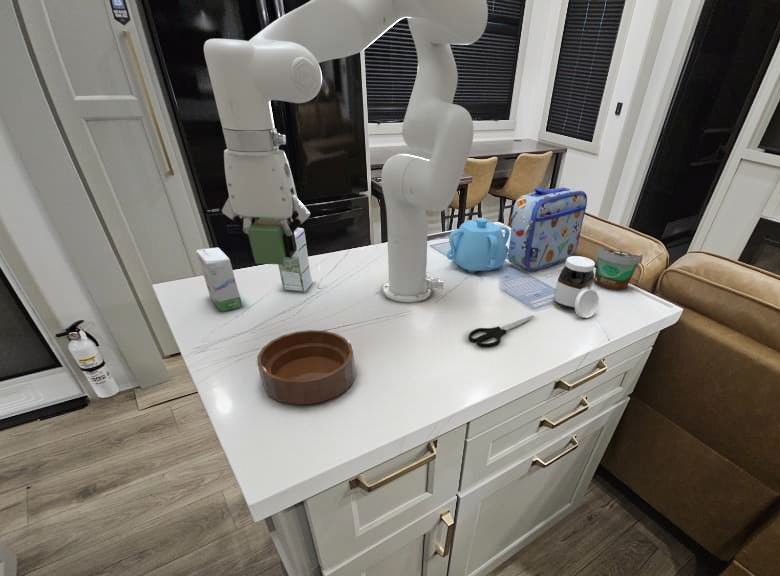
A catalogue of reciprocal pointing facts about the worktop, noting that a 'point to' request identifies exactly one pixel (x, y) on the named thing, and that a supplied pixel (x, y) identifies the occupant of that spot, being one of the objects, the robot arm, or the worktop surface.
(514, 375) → the worktop surface
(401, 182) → the robot arm
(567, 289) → the spread jar
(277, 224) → the package
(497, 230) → the decorative pot
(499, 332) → the scissors
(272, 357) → the bowl
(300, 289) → the syrup box
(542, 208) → the lunch box
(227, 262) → the ink box
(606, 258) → the food container
